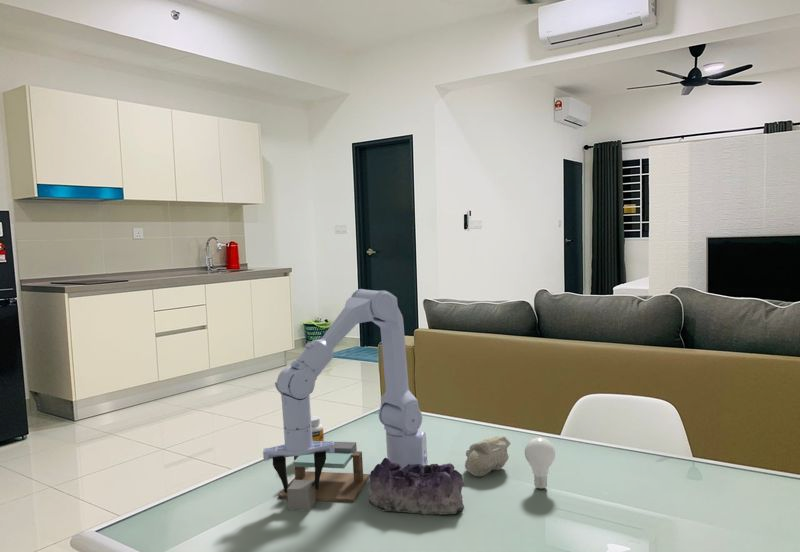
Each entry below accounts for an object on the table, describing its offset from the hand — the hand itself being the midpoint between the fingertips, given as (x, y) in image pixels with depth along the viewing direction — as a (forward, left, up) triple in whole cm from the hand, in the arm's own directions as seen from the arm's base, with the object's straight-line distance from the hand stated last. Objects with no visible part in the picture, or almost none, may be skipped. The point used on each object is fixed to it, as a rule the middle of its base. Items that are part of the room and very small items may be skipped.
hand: (301, 489), depth 123 cm
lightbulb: (-49, -13, -4) cm, 51 cm away
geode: (-24, -3, -4) cm, 24 cm away
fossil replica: (-37, -21, -4) cm, 43 cm away
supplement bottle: (+7, -25, -4) cm, 27 cm away
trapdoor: (-2, -10, +2) cm, 11 cm away
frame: (-2, -9, -3) cm, 10 cm away
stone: (0, 0, -3) cm, 3 cm away
